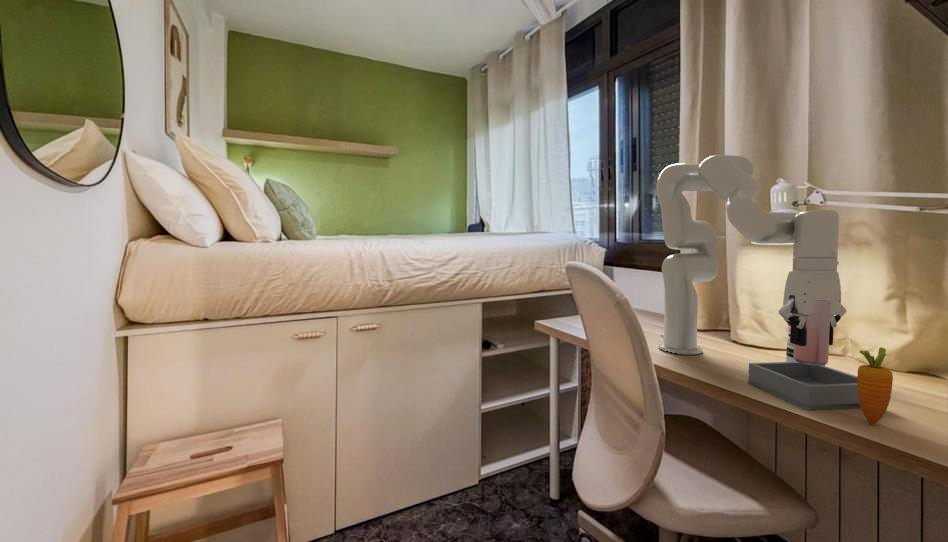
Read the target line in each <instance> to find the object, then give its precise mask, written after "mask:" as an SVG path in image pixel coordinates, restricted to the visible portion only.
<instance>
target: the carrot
mask: <svg viewBox="0 0 948 542" xmlns="http://www.w3.org/2000/svg"><path fill="white" fill-rule="evenodd" d="M859 353H860V354H861V355H863V357H865V359H866V361H867V363H868V364H861V365H860V366H858V368H857V375H856V376H857V389H858V398H859V403H860V407H861V408H860V409H861V411H862V412H861V413H862V414H863V416H864V418H865V420H866V422H867V423H868V424H870V426H874V425H876V424H877V423H878V422H879V421H881V419H882V418H883V417H884V415H885V414H886V412H887V410H888V407H889V404H890V400H891V397H892V389H893V382H894V381H893V379H894V376H893V372H892V370H891V369H889V368H886V367H882V364H883V361H884V359H885V357H886V356H887V354H886V353H887V349H886V348H885V347H882V346H881V347H879V349H878V354H877V356H876V358H875V356H873V355H871V353H870V351H869V350H866V349H865V350H862V349H860V350H859Z"/></svg>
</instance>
